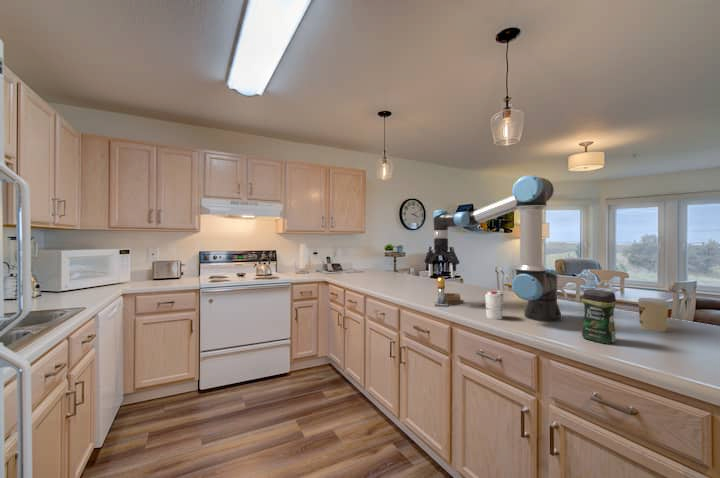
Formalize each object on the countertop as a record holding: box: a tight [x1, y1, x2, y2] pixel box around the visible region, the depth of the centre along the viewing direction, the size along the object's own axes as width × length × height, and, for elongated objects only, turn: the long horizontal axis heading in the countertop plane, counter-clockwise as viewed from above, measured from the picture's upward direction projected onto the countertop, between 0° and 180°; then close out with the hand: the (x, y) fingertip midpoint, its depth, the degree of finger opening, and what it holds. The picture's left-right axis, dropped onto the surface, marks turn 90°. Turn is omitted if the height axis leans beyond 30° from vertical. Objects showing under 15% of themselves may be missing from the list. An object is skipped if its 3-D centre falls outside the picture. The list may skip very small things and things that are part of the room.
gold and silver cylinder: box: [436, 277, 446, 304], centre depth 175 cm, size 4×4×14 cm
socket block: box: [444, 292, 461, 305], centre depth 184 cm, size 11×11×4 cm
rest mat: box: [434, 301, 449, 308], centre depth 176 cm, size 7×7×1 cm
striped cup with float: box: [484, 290, 505, 321], centre depth 149 cm, size 10×8×12 cm
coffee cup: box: [637, 297, 670, 333], centre depth 130 cm, size 9×9×12 cm
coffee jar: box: [581, 288, 617, 344], centre depth 117 cm, size 10×8×19 cm
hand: (441, 276), depth 175 cm, fingers open, 13 cm apart
